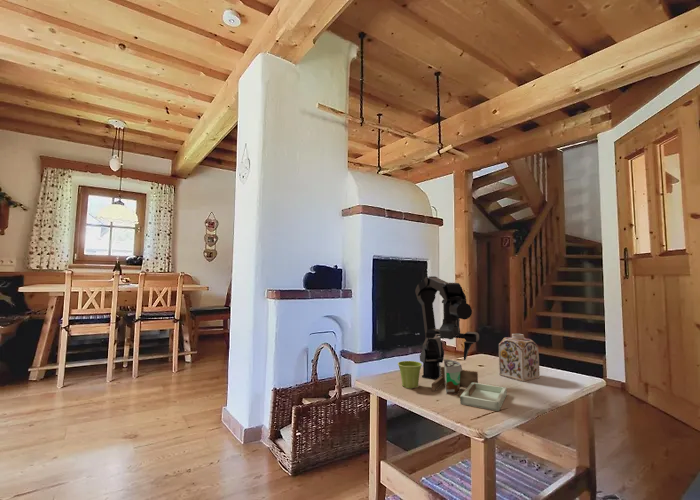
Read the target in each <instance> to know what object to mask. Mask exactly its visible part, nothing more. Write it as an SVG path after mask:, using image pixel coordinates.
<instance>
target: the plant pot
mask: <svg viewBox="0 0 700 500" xmlns="http://www.w3.org/2000/svg"><path fill="white" fill-rule="evenodd" d="M397 365H398V368H399V371H400V373H399V374H400V378H401V379H400V380H401V385H402V387H403V388H405V389H415V388H418V387H419V380H420V372H421V369H422V368H421V367H423V363H422V362H421V361H415V360H401V361H399V362H397Z"/></svg>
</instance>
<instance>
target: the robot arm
mask: <svg viewBox="0 0 700 500" xmlns="http://www.w3.org/2000/svg"><path fill="white" fill-rule="evenodd" d="M414 291H415V296H416V298H417V299H416V300H417V302H418V303H419V304H420V306H421V309H422V312H421V313H422V318H423V319H422V321H423V328H424V336H425V337H424V338H425V339H424V341H423V343H422V350H421V352H420V354H419V362H420V363H422V375H421V377H422V378H426V379H432V380H437V379H438V378H440V377H441V367H442V366H441V365H440V363H443V364H444V362H443V361H444V355H445V351H444V347H443V342H442V341H441V339H442V340H445V339H448V340H454V339H455V338H456V339H464V340H465V341H464V342H463V343H464V344H463V345H464V349H463V360H464V361H467V360H466V359H467V358H468V354H469V351H470V349H471V347H472V345H474V344H475V343H478V342H479V340H480V334H479V333H478V332H476V331H467V332H465V333H464V332H463V333H462V332H461V328H460V321H461V320H468V319H470V317H471V316H472V314H473V309H472V306H471V305H470V304H469V303H467V295H466V294H465V292H464V290H463V287H462V285H461V284H460V283H459V282H448V281H445V280H443V279H440V278H439V277H438V276H436V275H435V276H429V275H428V276H426V277H425V278H424V279H423V280H421V281H420V282H419V283H418V284H417V285H416V287H415V290H414ZM438 292H439V295H440V296H441V298H442V301H441V304H442V305H443V306H442V307H443V310H442V311H443V319H442V324H441V326H440V328H437V327H436V321H435V313H434V312H435V311H434V305H433V304H434V302H435V300H436V294H437V293H438Z"/></svg>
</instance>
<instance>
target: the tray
mask: <svg viewBox="0 0 700 500" xmlns="http://www.w3.org/2000/svg"><path fill="white" fill-rule="evenodd" d="M474 384H476V389H475V391H474V392H473V393H472V395H471V396H469V389H470V388H471V387H472V386H473V385H474ZM507 392H508V391H507V387H505V386H498V385H492V384H488V383H487V384H485V383H479V382H478V383H474V382H472V383H471V384H470V385H469V386H468V387H466V389H465V390H464V391H463V392H462V393H461V395H460V396H459V401H460V405H464V406H469V407H474V408H479V409H485V410H490V411H495V412H500V410H501V408H502V405H503V403H504V402H505V399H506V397H507V395H508V394H507Z"/></svg>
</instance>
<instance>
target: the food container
mask: <svg viewBox="0 0 700 500" xmlns="http://www.w3.org/2000/svg"><path fill="white" fill-rule="evenodd" d="M443 361H444V362H443V365H444V366H443V367H444V372H445V383H444V387H445V392H446V395H456V394H458V393H460V388H461V386H460V371H462V370H463V367H462V364H461V363H460V362H459V361H457V360H452V359H444V358H443Z"/></svg>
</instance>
